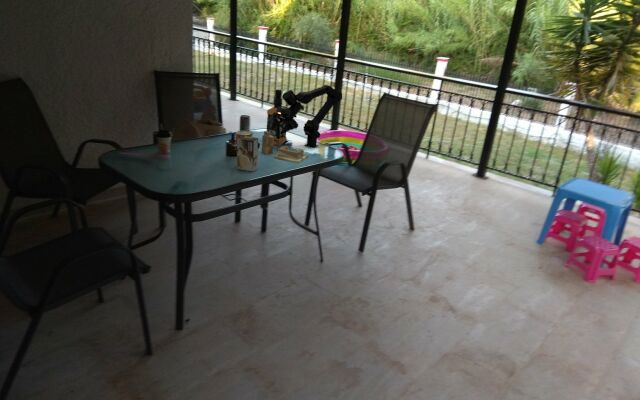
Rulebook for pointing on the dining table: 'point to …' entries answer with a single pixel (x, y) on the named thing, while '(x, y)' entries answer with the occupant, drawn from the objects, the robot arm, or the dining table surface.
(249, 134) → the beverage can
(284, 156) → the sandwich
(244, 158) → the coffee box
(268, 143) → the rail end
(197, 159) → the dining table surface
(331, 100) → the robot arm
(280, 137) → the whiskey bottle
